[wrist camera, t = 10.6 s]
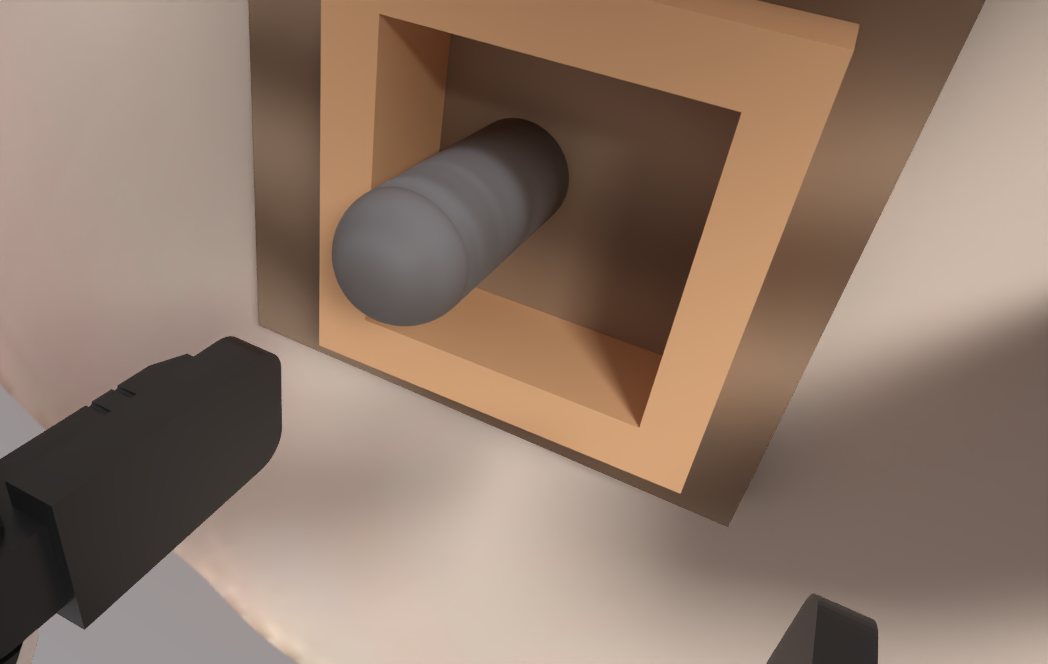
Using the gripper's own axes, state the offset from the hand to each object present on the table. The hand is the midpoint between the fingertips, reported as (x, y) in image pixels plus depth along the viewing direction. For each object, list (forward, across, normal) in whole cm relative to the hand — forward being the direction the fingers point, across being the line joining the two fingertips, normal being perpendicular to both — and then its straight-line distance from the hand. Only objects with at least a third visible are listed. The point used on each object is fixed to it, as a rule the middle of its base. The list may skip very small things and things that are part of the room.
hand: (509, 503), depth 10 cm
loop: (+11, +3, 0) cm, 12 cm away
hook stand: (+13, +5, 0) cm, 13 cm away
